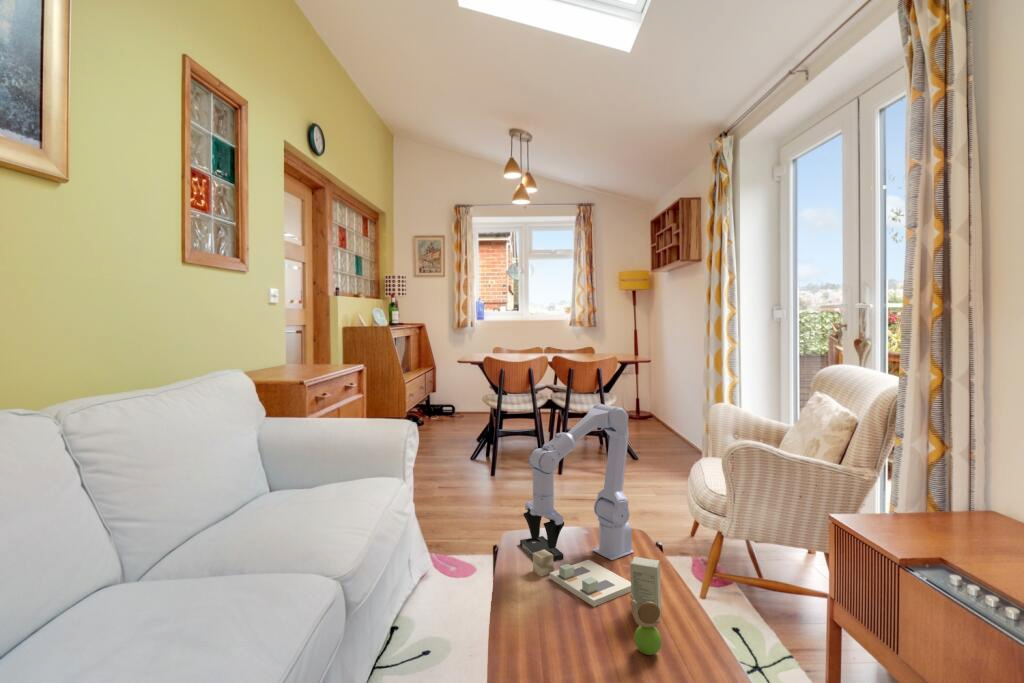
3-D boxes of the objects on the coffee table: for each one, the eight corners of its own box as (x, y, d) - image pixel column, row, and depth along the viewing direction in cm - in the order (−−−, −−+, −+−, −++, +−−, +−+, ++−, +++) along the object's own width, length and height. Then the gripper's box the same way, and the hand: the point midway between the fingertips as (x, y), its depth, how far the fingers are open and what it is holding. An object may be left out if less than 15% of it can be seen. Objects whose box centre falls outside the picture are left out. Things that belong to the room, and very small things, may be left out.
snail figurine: (625, 645, 104) (625, 588, 104) (655, 643, 105) (655, 586, 104) (634, 662, 99) (634, 601, 99) (665, 660, 99) (665, 600, 99)
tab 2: (591, 586, 125) (591, 576, 125) (597, 590, 123) (597, 580, 123) (582, 589, 124) (582, 580, 124) (588, 593, 122) (588, 584, 122)
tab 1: (567, 572, 133) (567, 563, 133) (573, 575, 131) (573, 566, 131) (559, 575, 131) (559, 566, 131) (565, 578, 129) (565, 569, 129)
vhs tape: (519, 546, 155) (519, 539, 155) (542, 542, 158) (542, 535, 158) (538, 565, 142) (538, 558, 142) (563, 561, 144) (563, 554, 144)
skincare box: (661, 612, 116) (661, 560, 116) (658, 621, 113) (658, 568, 112) (633, 606, 119) (633, 555, 119) (630, 615, 115) (630, 562, 115)
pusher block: (544, 567, 140) (544, 549, 140) (553, 572, 136) (553, 554, 136) (532, 571, 137) (532, 553, 137) (541, 576, 134) (541, 558, 134)
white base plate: (588, 564, 141) (588, 559, 141) (634, 590, 127) (634, 583, 127) (549, 578, 133) (549, 572, 133) (593, 606, 119) (593, 600, 119)
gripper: (516, 489, 140) (516, 537, 141) (548, 503, 128) (548, 555, 129) (536, 484, 144) (536, 531, 145) (569, 498, 132) (569, 549, 132)
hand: (543, 542), depth 137 cm, fingers open, 7 cm apart
